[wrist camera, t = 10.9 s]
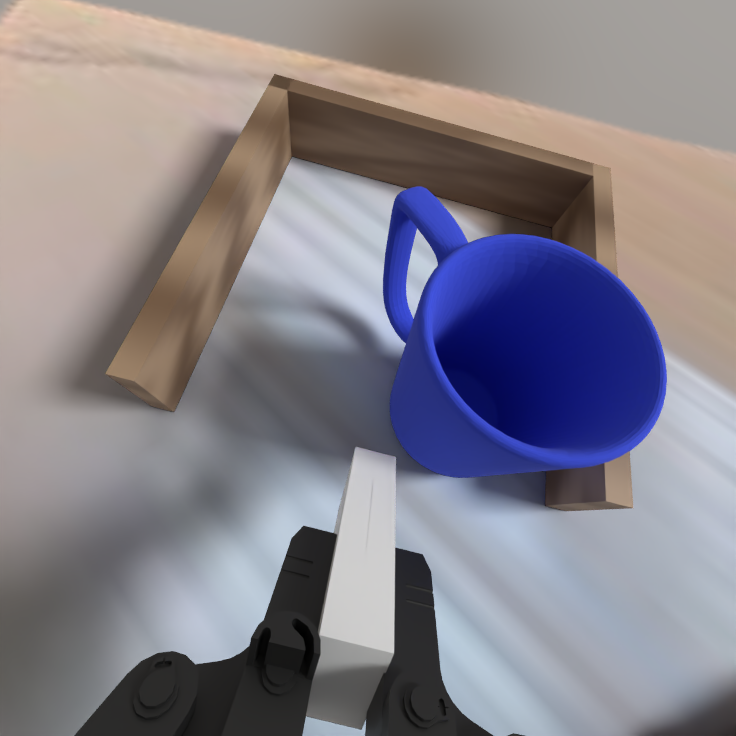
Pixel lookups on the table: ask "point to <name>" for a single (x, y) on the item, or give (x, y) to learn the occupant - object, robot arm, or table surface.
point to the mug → (515, 352)
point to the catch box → (378, 161)
